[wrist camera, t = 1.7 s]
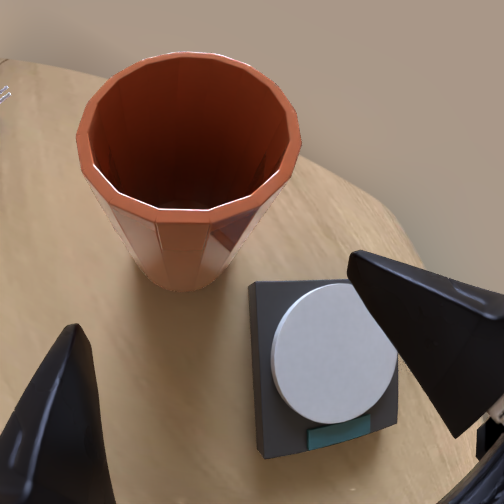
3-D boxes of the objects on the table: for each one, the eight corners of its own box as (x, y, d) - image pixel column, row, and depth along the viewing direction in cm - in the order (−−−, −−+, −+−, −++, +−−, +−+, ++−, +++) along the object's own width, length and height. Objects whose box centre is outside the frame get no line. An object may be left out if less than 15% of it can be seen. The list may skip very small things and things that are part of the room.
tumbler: (232, 292, 20) (315, 228, 8) (133, 291, 18) (54, 223, 6) (229, 200, 22) (286, 63, 9) (138, 198, 20) (108, 53, 8)
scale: (382, 418, 20) (403, 425, 17) (256, 449, 17) (267, 464, 15) (377, 281, 23) (398, 274, 20) (248, 285, 20) (258, 279, 18)
